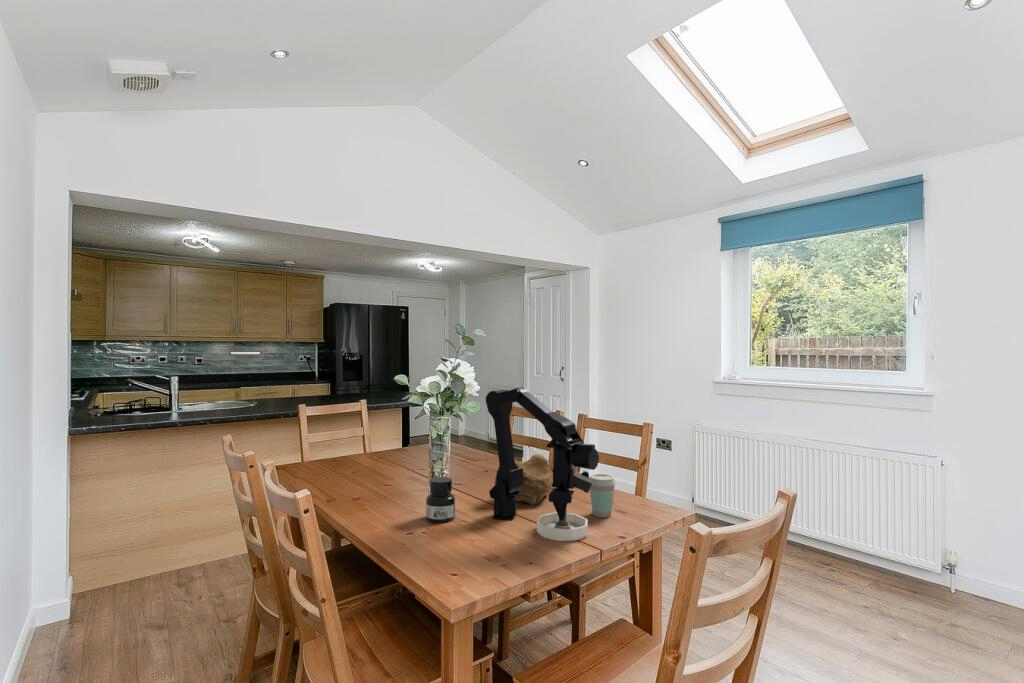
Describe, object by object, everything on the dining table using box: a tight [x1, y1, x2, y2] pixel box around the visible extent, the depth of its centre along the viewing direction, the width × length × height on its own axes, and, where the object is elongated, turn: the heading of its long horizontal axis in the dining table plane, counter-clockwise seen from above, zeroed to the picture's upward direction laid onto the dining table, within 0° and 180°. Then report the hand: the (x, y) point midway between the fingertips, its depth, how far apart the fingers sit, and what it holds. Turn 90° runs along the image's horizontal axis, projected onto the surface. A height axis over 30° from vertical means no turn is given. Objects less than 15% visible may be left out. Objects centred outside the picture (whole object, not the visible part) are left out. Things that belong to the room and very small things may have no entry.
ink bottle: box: [425, 476, 456, 523], centre depth 158 cm, size 10×9×12 cm
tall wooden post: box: [559, 506, 568, 526], centre depth 147 cm, size 2×2×8 cm
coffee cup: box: [589, 473, 616, 518], centre depth 162 cm, size 8×9×12 cm
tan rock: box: [494, 453, 553, 506], centre depth 178 cm, size 23×17×15 cm
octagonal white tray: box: [536, 511, 589, 542], centre depth 147 cm, size 14×14×3 cm
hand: (562, 518), depth 147 cm, fingers open, 3 cm apart
